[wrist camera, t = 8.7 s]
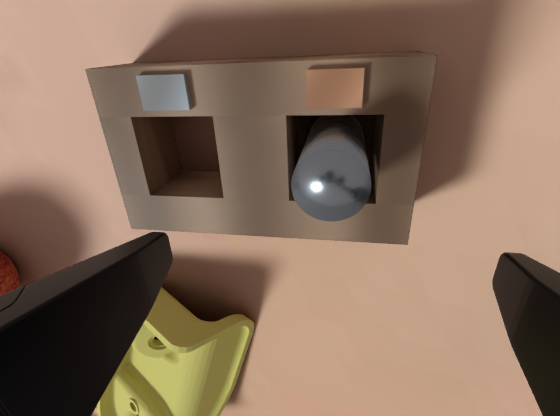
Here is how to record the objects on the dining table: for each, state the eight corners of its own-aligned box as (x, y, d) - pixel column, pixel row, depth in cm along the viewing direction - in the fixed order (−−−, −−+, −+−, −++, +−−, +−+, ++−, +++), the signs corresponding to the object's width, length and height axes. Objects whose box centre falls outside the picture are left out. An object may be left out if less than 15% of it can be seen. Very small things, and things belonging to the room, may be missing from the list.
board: (418, 51, 17) (438, 55, 13) (397, 209, 21) (408, 247, 17) (132, 63, 19) (80, 69, 16) (163, 200, 24) (128, 231, 20)
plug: (365, 111, 18) (374, 149, 12) (361, 165, 20) (368, 223, 14) (308, 112, 19) (289, 148, 13) (308, 164, 20) (292, 219, 14)
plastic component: (103, 278, 25) (191, 363, 21) (180, 248, 31) (260, 310, 27) (94, 429, 34) (155, 512, 29) (156, 383, 39) (214, 446, 35)
